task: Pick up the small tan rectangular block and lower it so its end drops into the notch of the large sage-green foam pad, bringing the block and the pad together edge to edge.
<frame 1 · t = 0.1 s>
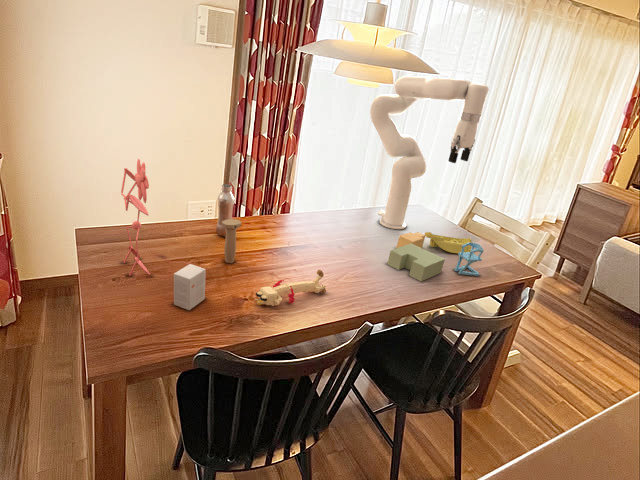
hand: (458, 161, 195), 37 cm above the table, tool pointing down, fingers open, 9 cm apart
small box: (189, 302, 142), on the table
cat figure: (289, 298, 152), on the table
handle: (229, 262, 168), on the table
tan rectangular block: (408, 249, 201), on the table
chair: (464, 272, 190), on the table
plastic bottle: (224, 235, 188), on the table
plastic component: (444, 248, 209), on the table
notch pad: (414, 268, 186), on the table
figurine: (148, 267, 157), on the table
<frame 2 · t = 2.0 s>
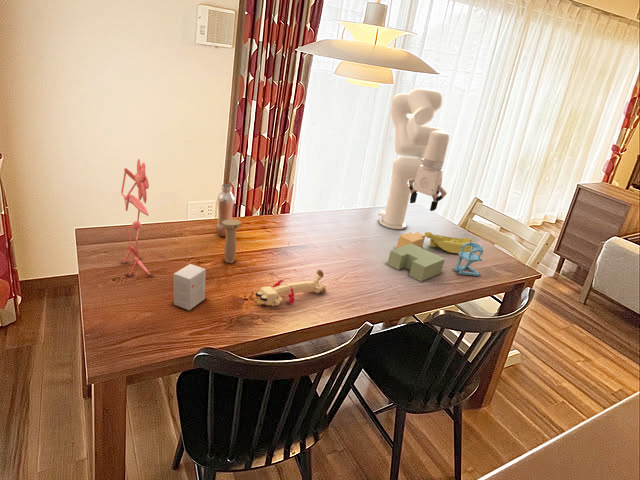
hand: (422, 206, 193), 19 cm above the table, tool pointing down, fingers open, 9 cm apart
nothing on the table moved.
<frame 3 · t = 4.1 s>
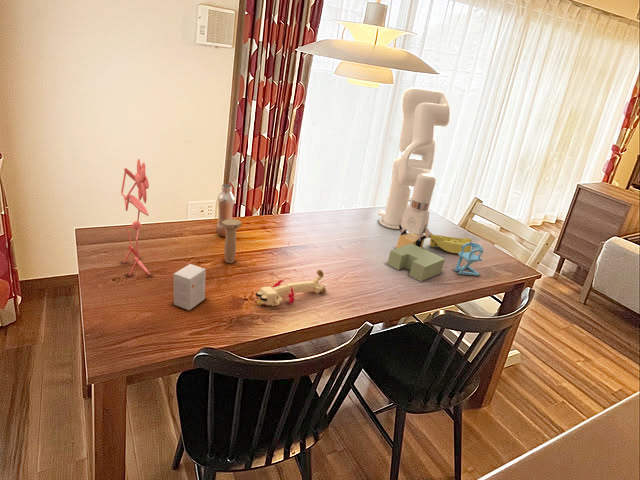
hand: (409, 244, 200), 2 cm above the table, tool pointing down, fingers closed on tan rectangular block, 7 cm apart
tan rectangular block: (408, 250, 201), on the table, touching gripper
everything else where it was.
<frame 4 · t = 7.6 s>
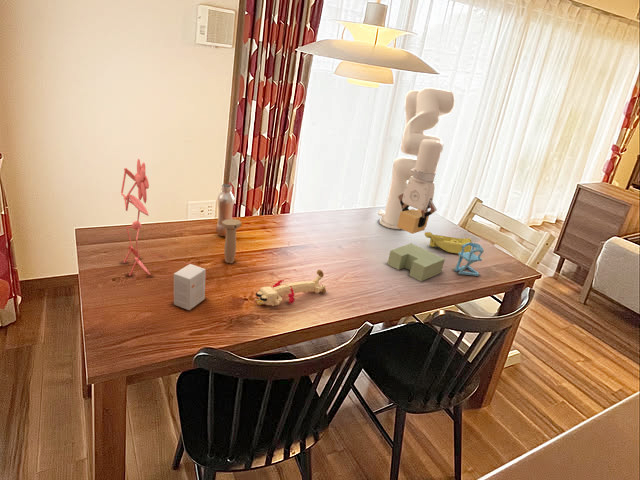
hand: (412, 222, 177), 18 cm above the table, tool pointing down, fingers closed on tan rectangular block, 7 cm apart
tan rectangular block: (410, 228, 178), point 16 cm above the table, touching gripper
everything else where it was.
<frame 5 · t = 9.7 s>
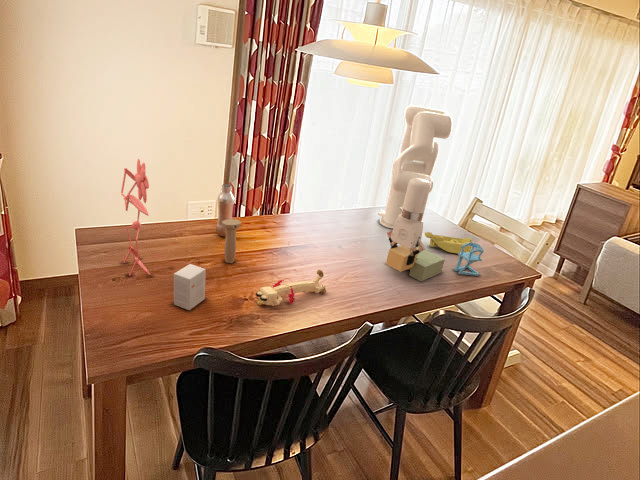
hand: (400, 259, 175), 7 cm above the table, tool pointing down, fingers closed on tan rectangular block, 7 cm apart
tan rectangular block: (399, 265, 176), point 4 cm above the table, touching gripper
everything else where it was.
when the fingers open (2 cm above the table, at t = 11.4 s): tan rectangular block stays where it is, on the table.
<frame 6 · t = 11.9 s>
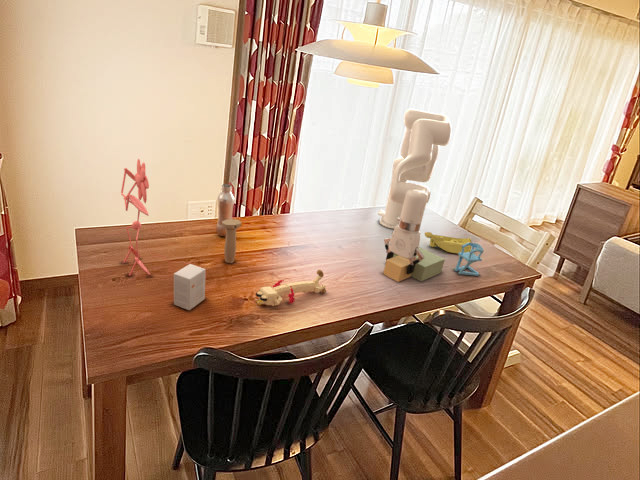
hand: (398, 268, 177), 3 cm above the table, tool pointing down, fingers open, 9 cm apart
tan rectangular block: (396, 275, 178), on the table
everything else where it was.
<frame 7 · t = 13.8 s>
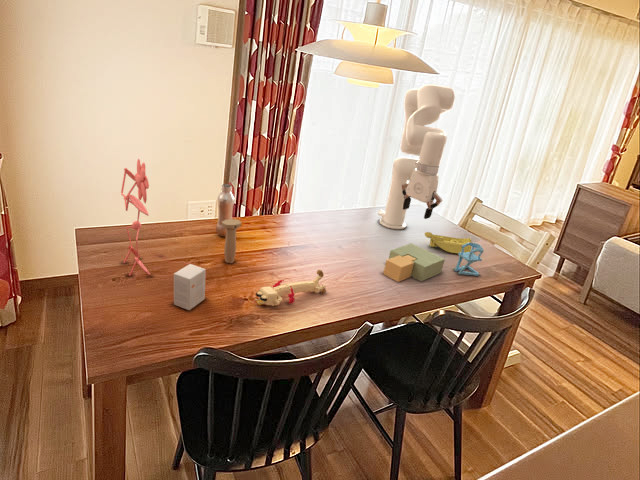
hand: (416, 213, 178), 21 cm above the table, tool pointing down, fingers open, 9 cm apart
nothing on the table moved.
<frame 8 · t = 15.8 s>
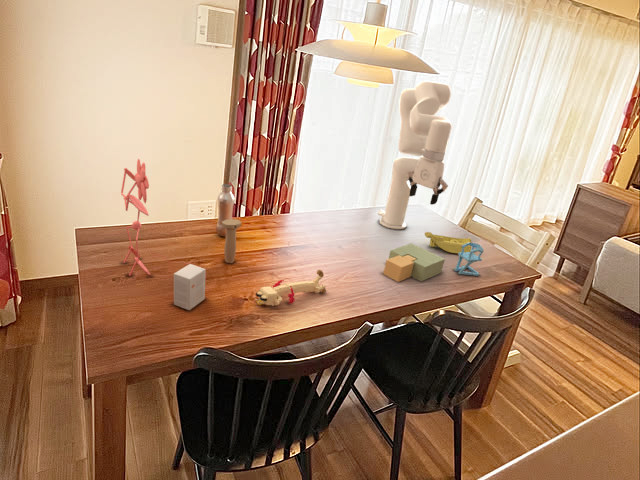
hand: (422, 199, 183), 24 cm above the table, tool pointing down, fingers open, 9 cm apart
nothing on the table moved.
at the end: tan rectangular block 0.1 cm from the target spot on the table beside the notch pad, on the table; tan rectangular block tilted 0°; notch pad moved 0.0 cm from its start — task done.
